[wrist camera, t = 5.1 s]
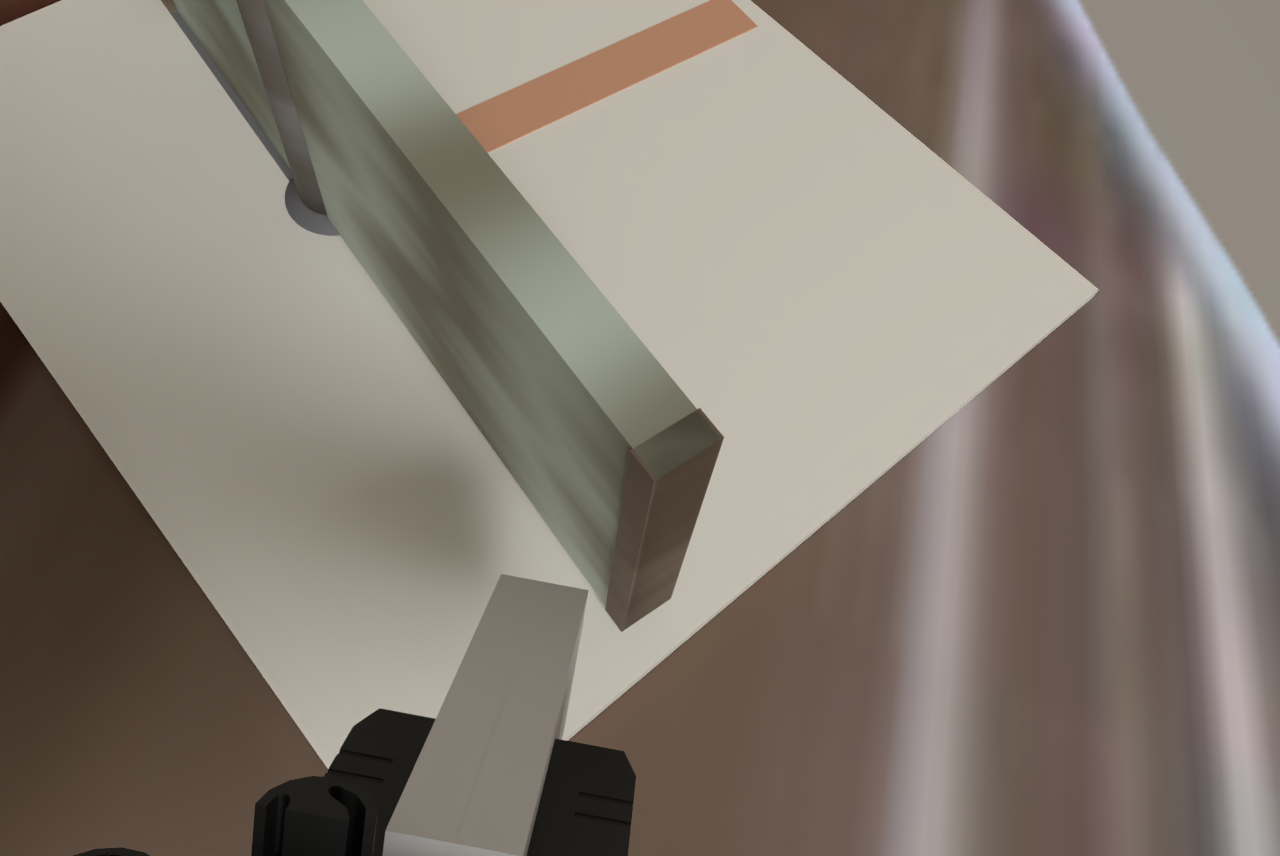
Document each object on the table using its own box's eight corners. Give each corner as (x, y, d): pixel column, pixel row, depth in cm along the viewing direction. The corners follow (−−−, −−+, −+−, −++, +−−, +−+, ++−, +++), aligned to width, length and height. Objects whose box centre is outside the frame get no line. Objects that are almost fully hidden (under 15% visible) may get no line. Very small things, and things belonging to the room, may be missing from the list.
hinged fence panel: (286, 179, 26) (196, -89, 20) (349, 151, 27) (283, -119, 20) (611, 638, 22) (640, 490, 15) (679, 592, 22) (737, 429, 15)
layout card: (-140, 100, 27) (-150, 88, 27) (518, -181, 35) (518, -194, 35) (405, 877, 20) (402, 875, 19) (1091, 298, 28) (1099, 288, 27)
